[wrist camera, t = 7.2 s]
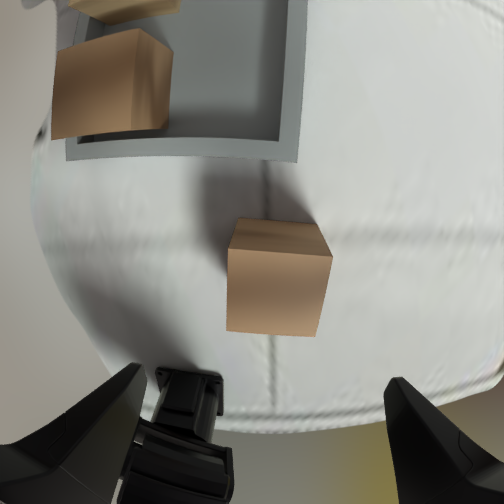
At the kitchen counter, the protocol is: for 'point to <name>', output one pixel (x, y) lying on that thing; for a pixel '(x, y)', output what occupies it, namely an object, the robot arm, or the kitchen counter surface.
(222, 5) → the tray
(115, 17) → the block
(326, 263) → the block
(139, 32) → the block
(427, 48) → the kitchen counter surface
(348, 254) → the kitchen counter surface
